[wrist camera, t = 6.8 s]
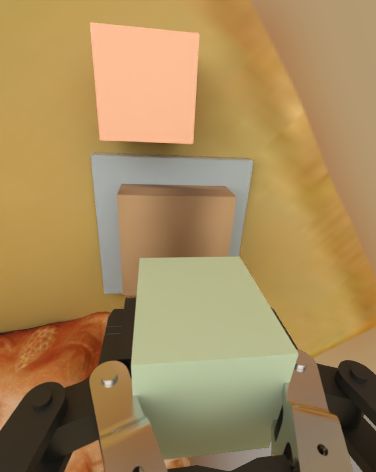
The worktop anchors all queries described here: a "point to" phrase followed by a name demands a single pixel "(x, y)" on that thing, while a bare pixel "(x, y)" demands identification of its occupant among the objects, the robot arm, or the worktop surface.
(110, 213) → the board
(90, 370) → the ceramic vessel
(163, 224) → the walnut base
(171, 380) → the sage block
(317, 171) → the worktop surface
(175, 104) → the terracotta block
